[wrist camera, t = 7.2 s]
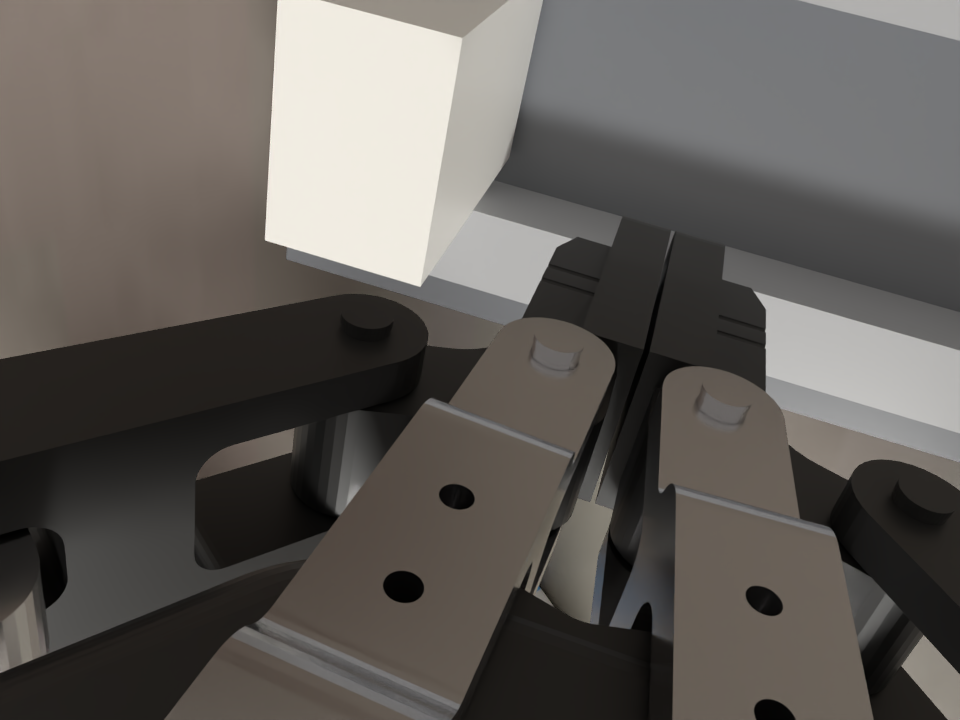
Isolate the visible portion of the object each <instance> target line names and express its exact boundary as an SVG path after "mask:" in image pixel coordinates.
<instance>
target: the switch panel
mask: <svg viewBox="0 0 960 720" xmlns="http://www.w3.org/2000/svg"><path fill="white" fill-rule="evenodd" d="M622 216H627V217H630V218H633V219H637V220H640V221H644V222H647V223H651V224H654V225H657V226H661V227H664V228H668V229H671V234H670V238H669V243H668V247H667V251H666V255H667V252H668V249H669V246H670V243H671V240H672V238H673V235H674V233H675V231H679V232H682V233H685V234H689V235H692V236H696V237H699V238H703V239H706V240H709V241H713V242H716V243H720V244H723V245H725V255H724V265H723V276H722V279H723V280H726V281H729V282H733V283H736V284H739V285H743V286H746V287H750V288H752V290H753V291H754V293H755V294H756V296H757V297H758V298H759V300H760V301H761V303H762V304H763V306H764V307H765V309H766V330H765V333H766V346H765V349H766V393H767V394H768V395H769V396H770V397H771V398H772V399H773V400H774V401H775V402H776V403H777V405H778V406H779V407H780V408H781V409H784V410H787V411H791V412H794V413H797V414H801V415H804V416H807V417H810V418H814V419H817V420H820V421H824V422H827V423H830V424H834V425H837V426H840V427H844V428H847V429H850V430H854V431H857V432H860V433H864V434H867V435H870V436H873V437H877V438H880V439H883V440H887V441H890V442H893V443H897V444H900V445H903V446H907V447H910V448H913V449H917V450H920V451H923V452H926V453H930V454H933V455H936V456H940V457H943V458H946V459H950V460H953V461H956V462H960V0H543V3H542V7H541V12H540V17H539V21H538V26H537V30H536V35H535V40H534V44H533V49H532V54H531V58H530V63H529V68H528V72H527V77H526V82H525V86H524V91H523V96H522V100H521V105H520V110H519V114H518V119H517V123H516V128H515V133H514V137H513V142H512V147H511V151H510V156H509V159H508V160H507V161H506V163H505V164H504V166H503V167H502V169H501V170H500V172H499V173H498V175H497V176H496V178H495V179H494V180H493V182H492V183H491V185H490V186H489V188H488V189H487V191H486V192H485V194H484V195H483V196H482V198H481V199H480V201H479V202H478V204H477V205H476V207H475V208H474V210H473V211H472V212H471V214H470V215H469V217H468V218H467V220H466V221H465V223H464V224H463V226H462V227H461V228H460V230H459V231H458V233H457V234H456V236H455V237H454V239H453V240H452V242H451V243H450V244H449V246H448V247H447V249H446V250H445V252H444V253H443V255H442V256H441V258H440V259H439V260H438V262H437V263H436V265H435V266H434V268H433V269H432V271H431V272H430V274H429V275H428V276H427V278H426V279H425V281H424V282H423V284H422V285H421V287H419V286H415V285H412V284H409V283H405V282H402V281H399V280H395V279H392V278H389V277H385V276H382V275H379V274H375V273H372V272H369V271H365V270H362V269H359V268H355V267H352V266H349V265H345V264H342V263H339V262H335V261H332V260H329V259H325V258H322V257H319V256H315V255H312V254H309V253H305V252H302V251H299V250H295V249H292V248H289V247H287V254H286V259H287V260H290V261H293V262H297V263H300V264H303V265H307V266H310V267H313V268H317V269H320V270H323V271H327V272H330V273H333V274H336V275H340V276H343V277H346V278H350V279H353V280H356V281H360V282H363V283H366V284H370V285H373V286H376V287H380V288H383V289H386V290H390V291H393V292H396V293H399V294H403V295H406V296H409V297H413V298H416V299H419V300H423V301H426V302H429V303H433V304H436V305H439V306H443V307H446V308H449V309H453V310H456V311H459V312H462V313H466V314H469V315H472V316H476V317H479V318H482V319H486V320H489V321H492V322H496V323H499V324H502V325H506V324H508V323H510V322H512V321H515V320H518V319H522V317H523V315H524V313H525V311H526V309H527V307H528V305H529V303H530V301H531V299H532V297H533V295H534V293H535V290H536V288H537V286H538V284H539V282H540V281H541V279H542V276H543V274H544V272H545V270H546V268H547V267H548V264H549V262H550V260H551V258H552V256H553V254H554V252H555V250H556V247H558V246H560V245H562V244H564V243H566V242H568V241H570V240H572V239H574V238H576V237H580V238H584V239H587V240H590V241H594V242H597V243H600V244H604V245H607V246H611V247H612V244H613V241H614V239H615V236H616V233H617V230H618V227H619V225H620V222H621V219H622ZM665 257H666V256H665Z"/></svg>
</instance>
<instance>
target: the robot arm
mask: <svg viewBox="0 0 960 720" xmlns="http://www.w3.org/2000/svg"><path fill="white" fill-rule="evenodd" d="M670 234H671V229H668V228H664V227H661V226H657V225H654V224H651V223H647V222H644V221H640V220H637V219H633V218H630V217H627V216H622V219H621V222H620V225H619V227H618V230H617V233H616V236H615V239H614V241H613V244H612V247H611V246H607V245H604V244H600V243H597V242H594V241H590V240H587V239H584V238H580V237H576V238H574V239H572V240H570V241H568V242H566V243H564V244H562V245H560V246H558V247H556V250H555V252H554V254H553V256H552V258H551V260H550V262H549V264H548V267H547V268H546V270H545V272H544V274H543V276H542V279H541V281H540V282H539V284H538V286H537V288H536V290H535V293H534V295H533V297H532V299H531V301H530V303H529V305H528V307H527V309H526V311H525V313H524V315H523V317H522V319H518V320H515V321H512V322H510V323H508V324H506V325H505V326H504V327H503V328H502V329H501V330H500V331H499V332H498V334H497V335H496V337H495V338H494V339H493V341H492V342H491V344H490V345H489V347H487V348H481V349H451V348H442V347H434V346H427V341H428V331H427V327H426V326H425V324H424V322H423V321H422V320H421V319H420V317H419V316H418V315H416V314H415V313H414V312H413V311H411V310H410V309H408V308H407V307H405V306H403V305H401V304H399V303H397V302H394V301H391V300H388V299H385V298H381V297H377V296H371V295H362V294H344V295H337V296H331V297H326V298H321V299H315V300H310V301H305V302H300V303H294V304H289V305H284V306H279V307H273V308H268V309H263V310H258V311H252V312H247V313H242V314H236V315H231V316H226V317H221V318H215V319H210V320H205V321H200V322H194V323H189V324H184V325H179V326H173V327H168V328H163V329H158V330H152V331H147V332H142V333H136V334H131V335H126V336H121V337H115V338H110V339H105V340H100V341H94V342H89V343H84V344H79V345H73V346H68V347H63V348H57V349H52V350H47V351H42V352H36V353H31V354H26V355H21V356H15V357H10V358H5V359H0V720H947V719H946V717H945V716H944V715H943V714H942V713H941V712H940V710H939V709H938V708H937V707H936V706H935V705H934V704H933V702H932V701H931V700H930V699H929V698H928V697H927V695H926V694H925V693H924V692H923V691H922V690H921V688H920V687H919V686H918V685H917V684H916V683H915V682H914V680H913V679H912V678H911V677H910V676H909V675H908V673H907V672H906V671H905V670H904V669H903V668H902V666H901V665H902V664H903V663H904V661H905V660H906V658H907V657H908V656H909V654H910V653H911V651H912V650H913V649H914V647H915V646H916V645H917V643H918V642H919V640H920V639H921V638H922V636H923V635H925V637H926V638H927V639H928V640H929V641H930V642H931V643H932V644H933V645H934V646H935V648H936V649H937V650H938V651H939V652H940V653H941V654H942V655H943V656H944V657H945V658H946V660H947V661H948V662H949V663H950V664H951V665H952V666H953V667H954V668H955V669H956V670H957V672H958V673H959V674H960V491H959V490H958V489H957V488H955V487H954V486H952V485H951V484H949V483H948V482H947V481H945V480H943V479H941V478H940V477H938V476H936V475H934V474H932V473H930V472H928V471H926V470H924V469H921V468H918V467H916V466H913V465H910V464H906V463H903V462H898V461H892V460H871V461H868V462H864V463H862V464H861V465H859V466H858V467H857V468H856V469H855V470H854V472H853V473H852V475H851V477H850V479H849V480H846V479H844V478H842V477H841V476H839V475H837V474H835V473H833V472H831V471H829V470H827V469H825V468H824V467H822V466H820V465H818V464H816V463H814V462H813V461H811V460H809V459H807V458H806V457H804V456H803V455H801V454H800V453H799V452H797V451H796V450H795V449H793V448H792V447H791V446H790V445H788V439H787V433H786V426H785V420H784V416H783V413H782V411H781V409H780V407H779V406H778V405H777V403H776V402H775V401H774V400H773V399H772V398H771V397H770V396H769V395H768V394H767V393H766V349H765V346H766V333H765V330H766V309H765V307H764V306H763V304H762V303H761V301H760V300H759V298H758V297H757V296H756V294H755V293H754V291H753V290H752V288H750V287H746V286H743V285H739V284H736V283H733V282H729V281H726V280H723V279H722V276H723V265H724V255H725V245H723V244H720V243H716V242H713V241H709V240H706V239H703V238H699V237H696V236H692V235H689V234H685V233H682V232H679V231H675V233H674V235H673V238H672V240H671V243H670V246H669V249H668V252H667V255H666V251H667V247H668V243H669V238H670ZM665 256H666V257H665ZM292 428H295V429H294V439H293V450H292V453H289V454H285V455H282V456H278V457H275V458H272V459H268V460H265V461H261V462H258V463H255V464H251V465H248V466H244V467H241V468H238V469H234V470H231V471H227V472H224V473H221V474H217V475H214V476H210V477H207V478H204V479H200V480H197V481H196V477H197V474H198V472H199V470H200V468H201V467H202V466H203V464H204V463H205V462H206V461H207V460H208V459H209V458H210V457H211V456H212V455H214V454H215V453H216V452H218V451H220V450H221V449H224V448H226V447H228V446H231V445H234V444H238V443H241V442H245V441H249V440H252V439H256V438H260V437H263V436H267V435H270V434H274V433H278V432H281V431H285V430H288V429H292ZM607 452H608V454H607ZM606 455H607V458H606ZM605 458H606V462H605V466H604V470H603V474H602V478H601V482H600V486H599V490H598V494H597V498H596V502H595V504H598V505H601V506H604V507H607V508H610V509H613V514H612V518H611V522H610V525H609V527H608V530H607V533H606V535H605V538H604V541H603V543H602V546H601V549H600V551H599V555H598V562H597V570H596V579H595V587H594V596H593V604H592V612H591V621H590V623H585V622H582V621H579V620H576V619H574V618H572V617H570V616H568V615H567V614H565V613H563V612H561V611H560V610H558V609H556V608H555V607H553V606H551V605H549V604H548V603H546V602H544V601H543V600H541V599H539V598H537V597H536V596H535V594H536V591H537V589H538V586H539V584H540V582H541V579H542V577H543V574H544V572H545V569H546V567H547V565H548V562H549V560H550V557H551V555H552V552H553V550H554V548H555V545H556V543H557V540H558V537H559V534H560V531H561V528H562V525H563V524H564V523H566V522H567V521H568V519H569V518H570V517H571V514H572V512H573V510H574V507H575V504H576V501H577V498H579V499H582V500H585V501H588V502H590V501H591V498H592V495H593V492H594V489H595V486H596V484H597V481H598V478H599V475H600V472H601V469H602V467H603V464H604V461H605Z"/></svg>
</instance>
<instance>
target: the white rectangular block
mask: <svg viewBox="0 0 960 720" xmlns="http://www.w3.org/2000/svg"><path fill="white" fill-rule="evenodd" d="M542 3H543V0H278V5H277V23H276V42H275V61H274V80H273V98H272V117H271V136H270V154H269V173H268V192H267V210H266V229H265V241H269V242H272V243H275V244H279V245H282V246H285V247H289V248H292V249H295V250H299V251H302V252H305V253H309V254H312V255H315V256H319V257H322V258H325V259H329V260H332V261H335V262H339V263H342V264H345V265H349V266H352V267H355V268H359V269H362V270H365V271H369V272H372V273H375V274H379V275H382V276H385V277H389V278H392V279H395V280H399V281H402V282H405V283H409V284H412V285H415V286H419V287H421V285H422V284H423V282H424V281H425V279H426V278H427V276H428V275H429V274H430V272H431V271H432V269H433V268H434V266H435V265H436V263H437V262H438V260H439V259H440V258H441V256H442V255H443V253H444V252H445V250H446V249H447V247H448V246H449V244H450V243H451V242H452V240H453V239H454V237H455V236H456V234H457V233H458V231H459V230H460V228H461V227H462V226H463V224H464V223H465V221H466V220H467V218H468V217H469V215H470V214H471V212H472V211H473V210H474V208H475V207H476V205H477V204H478V202H479V201H480V199H481V198H482V196H483V195H484V194H485V192H486V191H487V189H488V188H489V186H490V185H491V183H492V182H493V180H494V179H495V178H496V176H497V175H498V173H499V172H500V170H501V169H502V167H503V166H504V164H505V163H506V161H507V160H508V159H509V156H510V151H511V147H512V142H513V137H514V133H515V128H516V123H517V119H518V114H519V110H520V105H521V100H522V96H523V91H524V86H525V82H526V77H527V72H528V68H529V63H530V58H531V54H532V49H533V44H534V40H535V35H536V30H537V26H538V21H539V17H540V12H541V7H542Z"/></svg>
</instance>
